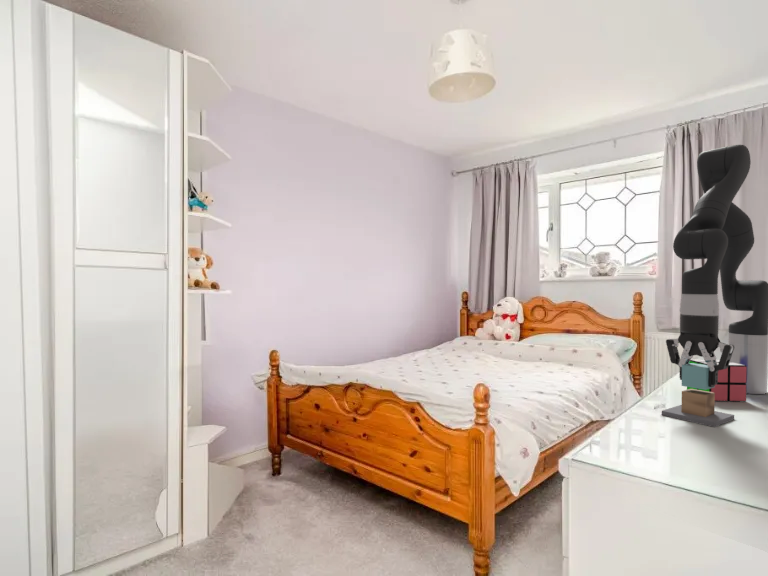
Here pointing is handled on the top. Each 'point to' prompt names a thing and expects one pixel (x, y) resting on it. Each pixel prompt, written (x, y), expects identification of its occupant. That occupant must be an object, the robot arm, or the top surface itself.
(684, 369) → the teal block
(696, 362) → the puzzle cube
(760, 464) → the top surface
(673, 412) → the mat
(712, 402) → the tan block
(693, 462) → the top surface
